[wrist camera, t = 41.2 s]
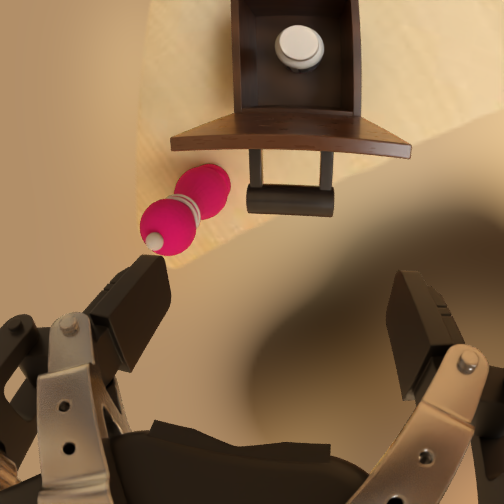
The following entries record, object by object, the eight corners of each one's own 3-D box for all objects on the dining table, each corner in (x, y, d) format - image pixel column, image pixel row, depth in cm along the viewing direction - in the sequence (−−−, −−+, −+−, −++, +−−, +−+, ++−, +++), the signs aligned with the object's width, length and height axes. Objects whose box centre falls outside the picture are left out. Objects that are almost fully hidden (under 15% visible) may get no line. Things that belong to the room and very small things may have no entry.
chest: (250, 13, 32) (230, -13, 22) (344, 14, 30) (357, -12, 20) (253, 110, 39) (234, 116, 29) (346, 113, 37) (360, 120, 27)
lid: (169, 137, 15) (179, 223, 18) (412, 144, 13) (399, 234, 16) (233, 112, 28) (235, 161, 31) (361, 116, 26) (359, 166, 29)
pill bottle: (324, 40, 32) (329, 24, 23) (318, 77, 35) (321, 71, 26) (282, 33, 32) (275, 15, 24) (277, 70, 35) (268, 62, 27)
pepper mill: (180, 170, 45) (106, 223, 28) (223, 153, 43) (164, 198, 25) (199, 212, 48) (140, 284, 30) (241, 198, 46) (199, 269, 28)
